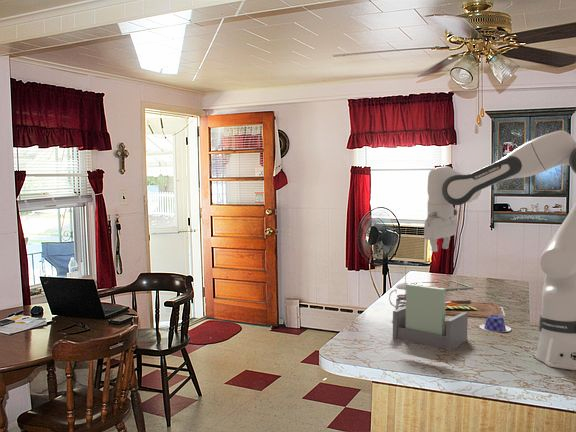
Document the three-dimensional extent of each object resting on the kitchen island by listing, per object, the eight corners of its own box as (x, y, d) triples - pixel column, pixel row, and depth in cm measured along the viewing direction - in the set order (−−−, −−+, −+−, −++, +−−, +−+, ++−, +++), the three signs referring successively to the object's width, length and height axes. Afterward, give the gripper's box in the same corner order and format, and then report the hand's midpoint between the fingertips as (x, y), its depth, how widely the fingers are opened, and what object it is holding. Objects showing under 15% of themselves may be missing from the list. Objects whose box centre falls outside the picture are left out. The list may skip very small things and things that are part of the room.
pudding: (491, 334, 211) (491, 321, 211) (473, 326, 223) (473, 314, 223) (518, 332, 215) (518, 319, 214) (498, 324, 226) (498, 311, 226)
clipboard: (410, 283, 307) (457, 280, 315) (410, 286, 307) (457, 283, 315) (427, 290, 288) (477, 286, 297) (427, 293, 289) (477, 289, 297)
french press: (417, 322, 229) (418, 262, 227) (388, 320, 231) (389, 261, 229) (416, 316, 238) (417, 259, 237) (389, 315, 241) (389, 258, 239)
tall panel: (444, 344, 193) (445, 288, 192) (441, 346, 192) (442, 289, 190) (408, 337, 202) (409, 283, 201) (405, 338, 200) (406, 284, 199)
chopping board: (398, 313, 246) (398, 306, 246) (404, 300, 272) (404, 294, 271) (506, 320, 233) (506, 313, 233) (502, 306, 258) (502, 300, 258)
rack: (467, 343, 199) (467, 312, 198) (450, 354, 187) (450, 321, 187) (411, 332, 213) (412, 303, 212) (392, 342, 202) (392, 311, 201)
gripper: (436, 213, 188) (436, 253, 189) (459, 210, 204) (459, 247, 205) (419, 213, 192) (419, 252, 193) (443, 210, 208) (443, 246, 209)
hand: (440, 250), depth 199 cm, fingers open, 8 cm apart
